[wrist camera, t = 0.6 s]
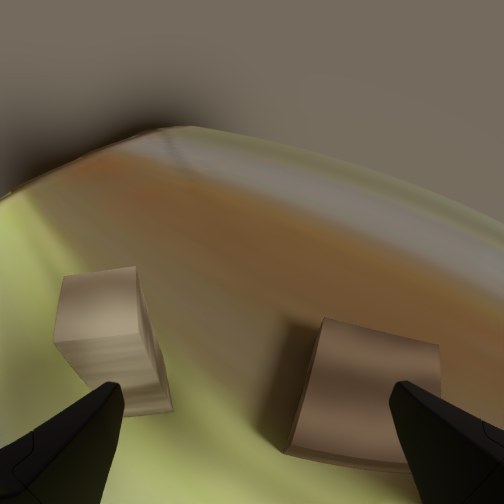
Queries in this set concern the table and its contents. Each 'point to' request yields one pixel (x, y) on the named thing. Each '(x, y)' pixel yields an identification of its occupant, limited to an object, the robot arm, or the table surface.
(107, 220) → the table surface
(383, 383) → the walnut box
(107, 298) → the birch block
